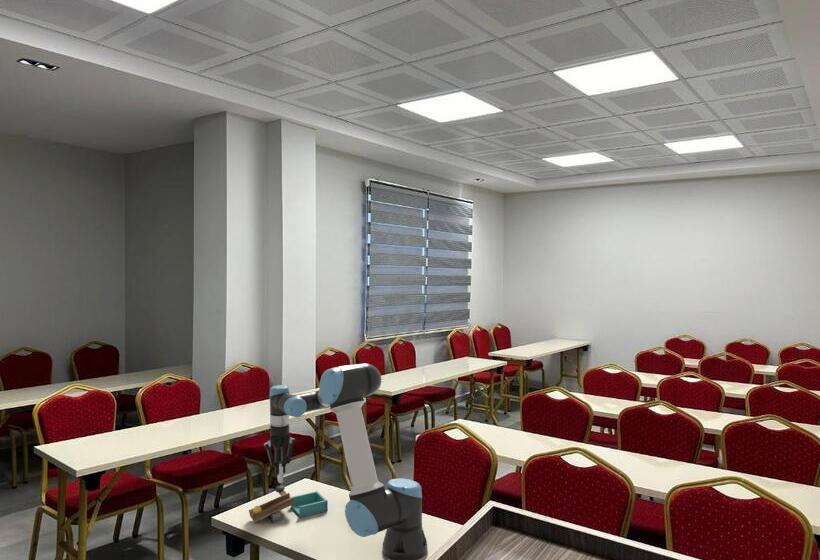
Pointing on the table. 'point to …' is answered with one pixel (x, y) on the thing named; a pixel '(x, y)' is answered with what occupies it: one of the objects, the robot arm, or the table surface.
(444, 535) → the table surface
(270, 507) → the lever
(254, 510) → the ball
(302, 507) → the tray
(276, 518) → the stand
